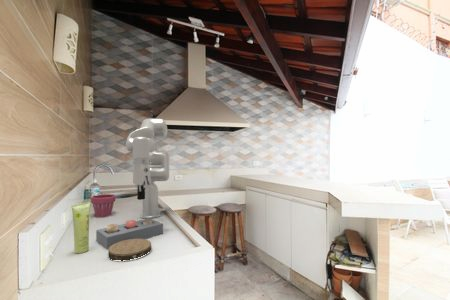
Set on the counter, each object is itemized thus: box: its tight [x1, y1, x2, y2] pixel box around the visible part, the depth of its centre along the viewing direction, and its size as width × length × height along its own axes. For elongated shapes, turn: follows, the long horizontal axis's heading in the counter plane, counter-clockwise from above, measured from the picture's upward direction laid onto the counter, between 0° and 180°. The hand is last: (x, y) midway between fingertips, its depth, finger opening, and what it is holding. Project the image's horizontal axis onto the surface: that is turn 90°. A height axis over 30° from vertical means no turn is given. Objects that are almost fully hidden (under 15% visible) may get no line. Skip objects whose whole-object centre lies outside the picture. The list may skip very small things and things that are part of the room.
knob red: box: [125, 219, 137, 229], centre depth 111 cm, size 4×4×4 cm
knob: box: [106, 223, 119, 234], centre depth 105 cm, size 4×4×4 cm
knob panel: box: [95, 218, 164, 250], centre depth 111 cm, size 26×14×5 cm, turn 135°
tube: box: [71, 201, 91, 254], centre depth 95 cm, size 6×5×20 cm
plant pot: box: [90, 193, 116, 218], centre depth 152 cm, size 14×14×13 cm
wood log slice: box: [107, 239, 152, 261], centre depth 93 cm, size 16×16×3 cm
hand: (141, 199), depth 114 cm, fingers closed
